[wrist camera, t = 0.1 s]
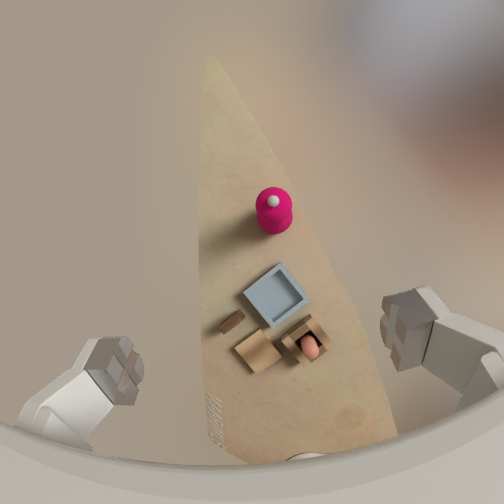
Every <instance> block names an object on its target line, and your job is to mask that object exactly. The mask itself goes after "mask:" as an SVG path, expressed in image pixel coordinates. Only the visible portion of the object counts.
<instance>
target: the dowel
mask: <svg viewBox="0 0 504 504" xmlns="http://www.w3.org/2000/svg"><path fill="white" fill-rule="evenodd" d="M300 342H301V346H302V349H303V353H304V356H305V357H306V358H307V359H314V358H316V357H317V356H318V354H319V349H318V346H317V344H316V342H315V340H314V337H313V335H312V334H311V333H309V332H306V333H305V334H304V335H302V336H301V337H300Z"/></svg>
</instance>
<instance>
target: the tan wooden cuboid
mask: <svg viewBox="0 0 504 504" xmlns="http://www.w3.org/2000/svg"><path fill="white" fill-rule="evenodd" d="M235 350H236V351H237V352H238V353H239V354H240V355H241V357H242V358H243V359H244V360H245V361H246V362H247V364H248V365H249V366H250V367H251V368H252V369H253V371H254V372H255V373H256V374H259V373H260V372H262V371H263V370H264V369H266V368H267V367H269V366H270V365H272V364H273V363H275V362H276V361H277V360H279V359H280V358H282V353H281V352H280V351H279V350H278V349H277V347H276V346H275V345H274V344H273V343H272V341H271V340H270V339H269V338H268V337H267V335H266V334H265V333H264V332H263V331H262V329H261V328H259V329H257V330H256V331H255V332H253V333H252V334H251V335H249V336H248V337H247V338H245V339H244V340H242V341H241V342H240V343H238V344H237V345H236V346H235Z"/></svg>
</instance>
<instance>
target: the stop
mask: <svg viewBox="0 0 504 504" xmlns="http://www.w3.org/2000/svg"><path fill="white" fill-rule="evenodd" d="M244 317H245V316H244V314H243V313H242V312H241V311H240V309H239V310H238V311H237V312H235V313H234V314H233V315H232V316H230V317H229V318H228V319H226V320H225V321H224V322H222V323H221V324H220V326H219V327H218V329H219V330H220V331H221V332H222V333H223V335H224V334H226V333H227V332H228V331H230V330H231V329H232V328H234V327H235V326H236V325H238V324H239V323H240V322H242V321H243V319H244Z"/></svg>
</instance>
